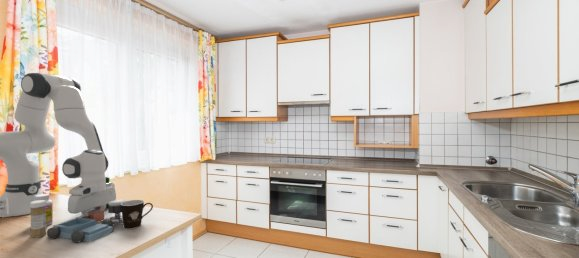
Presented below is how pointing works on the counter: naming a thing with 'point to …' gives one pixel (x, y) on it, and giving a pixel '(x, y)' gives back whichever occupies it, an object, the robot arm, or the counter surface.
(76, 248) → the counter surface
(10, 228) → the counter surface
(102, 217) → the block
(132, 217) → the coffee mug
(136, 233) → the counter surface
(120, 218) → the axle mount
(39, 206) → the sprinkles bottle
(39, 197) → the supplement bottle
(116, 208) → the wheel
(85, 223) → the chassis
